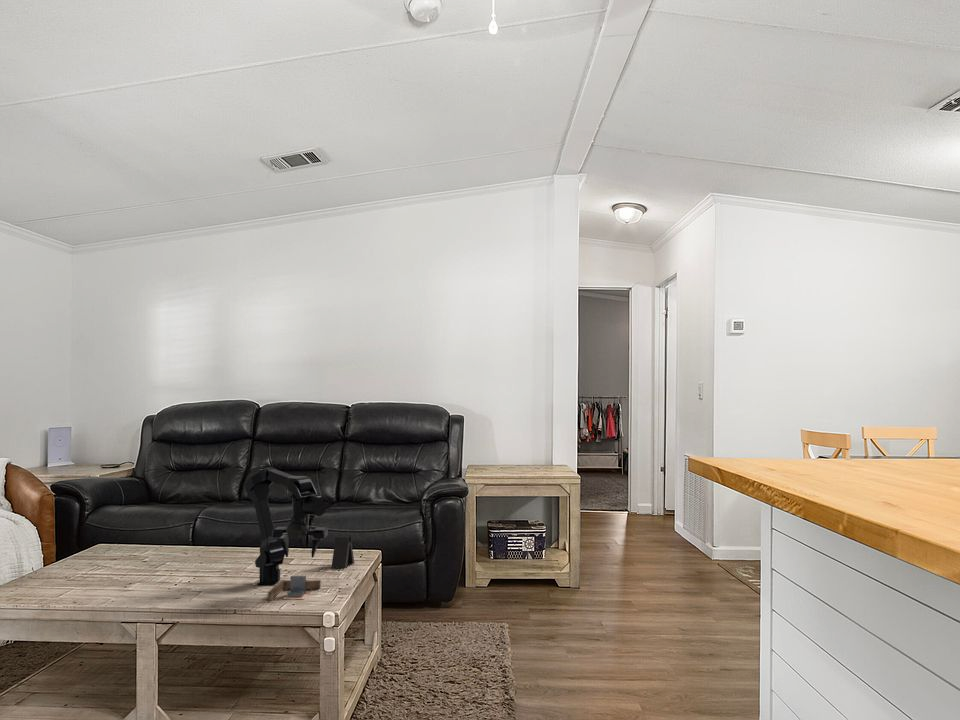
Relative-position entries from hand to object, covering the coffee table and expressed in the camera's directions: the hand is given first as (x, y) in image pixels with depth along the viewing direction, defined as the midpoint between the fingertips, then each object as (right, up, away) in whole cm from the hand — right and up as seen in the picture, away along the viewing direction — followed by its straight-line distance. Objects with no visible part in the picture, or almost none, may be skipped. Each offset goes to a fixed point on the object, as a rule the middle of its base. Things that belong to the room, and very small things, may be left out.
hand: (299, 557), depth 241 cm
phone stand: (+9, -13, +33) cm, 37 cm away
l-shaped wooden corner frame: (0, -12, -6) cm, 13 cm away
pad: (+1, -12, -7) cm, 13 cm away
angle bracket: (+1, -11, -7) cm, 13 cm away
